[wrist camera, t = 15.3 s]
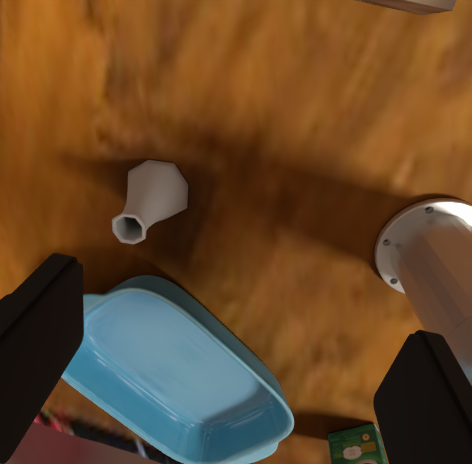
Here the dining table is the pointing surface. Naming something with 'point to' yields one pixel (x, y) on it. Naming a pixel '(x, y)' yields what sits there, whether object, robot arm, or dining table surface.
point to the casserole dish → (177, 375)
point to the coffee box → (357, 446)
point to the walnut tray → (416, 5)
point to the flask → (150, 199)
